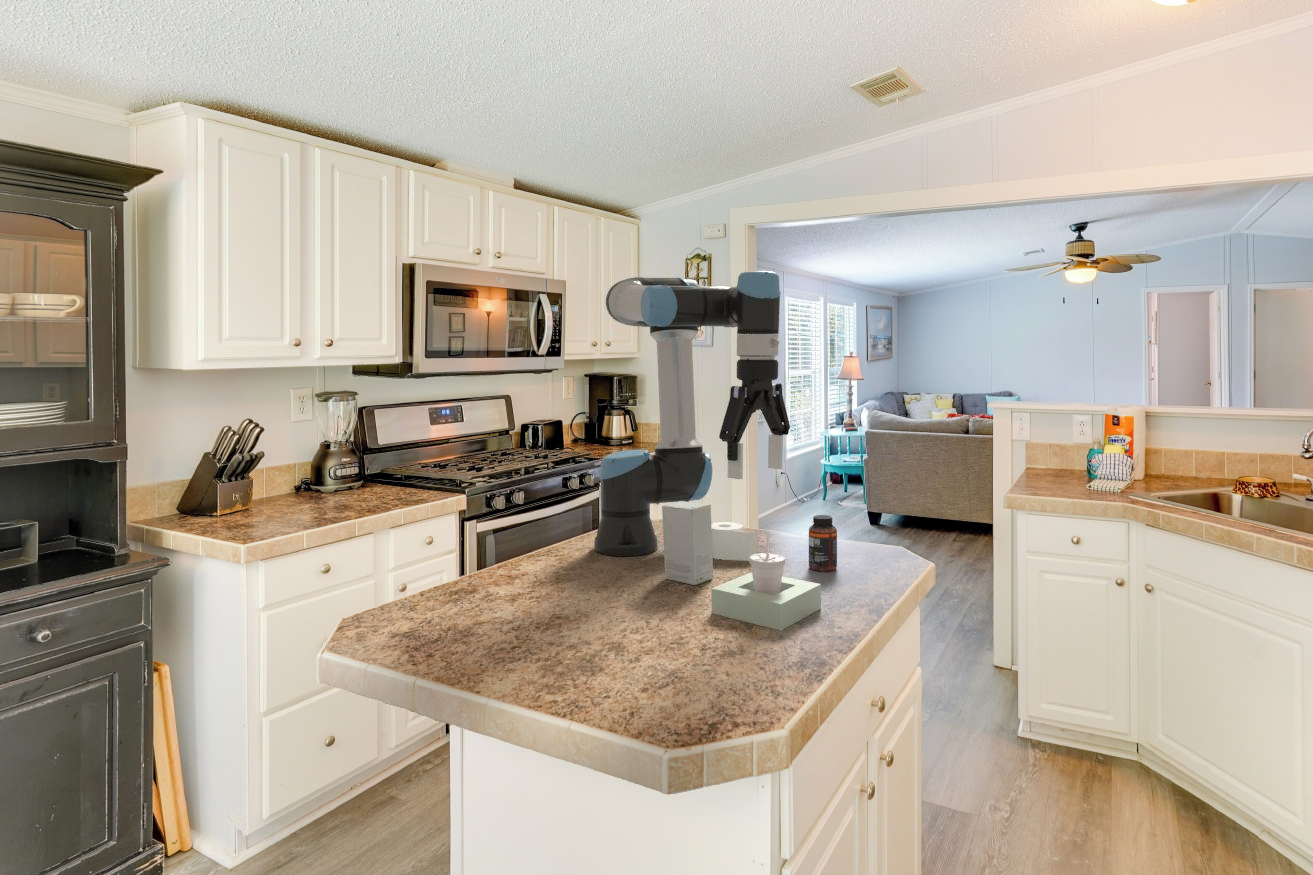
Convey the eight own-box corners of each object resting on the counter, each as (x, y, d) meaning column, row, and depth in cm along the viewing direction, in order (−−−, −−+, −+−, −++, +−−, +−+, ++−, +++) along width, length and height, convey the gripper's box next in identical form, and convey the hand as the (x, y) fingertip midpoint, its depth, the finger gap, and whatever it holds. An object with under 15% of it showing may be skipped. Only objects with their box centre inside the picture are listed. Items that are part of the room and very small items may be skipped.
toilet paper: (755, 561, 166) (755, 530, 165) (705, 559, 168) (705, 529, 167) (757, 552, 174) (757, 522, 173) (709, 550, 176) (709, 521, 175)
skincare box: (713, 579, 152) (713, 504, 150) (693, 586, 147) (692, 509, 146) (683, 572, 158) (682, 499, 156) (661, 578, 153) (661, 504, 151)
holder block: (711, 613, 132) (711, 588, 131) (754, 593, 142) (754, 570, 142) (780, 630, 123) (781, 603, 122) (820, 608, 133) (821, 584, 133)
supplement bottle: (834, 564, 162) (835, 513, 161) (838, 572, 156) (839, 519, 155) (807, 564, 163) (807, 513, 161) (809, 572, 157) (810, 519, 156)
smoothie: (788, 606, 135) (788, 530, 133) (782, 618, 129) (782, 538, 127) (753, 603, 137) (753, 528, 135) (745, 614, 131) (745, 536, 129)
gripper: (736, 359, 124) (734, 485, 126) (809, 357, 142) (806, 466, 145) (699, 359, 128) (699, 480, 131) (775, 356, 147) (773, 462, 150)
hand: (755, 473), depth 138 cm, fingers open, 13 cm apart
